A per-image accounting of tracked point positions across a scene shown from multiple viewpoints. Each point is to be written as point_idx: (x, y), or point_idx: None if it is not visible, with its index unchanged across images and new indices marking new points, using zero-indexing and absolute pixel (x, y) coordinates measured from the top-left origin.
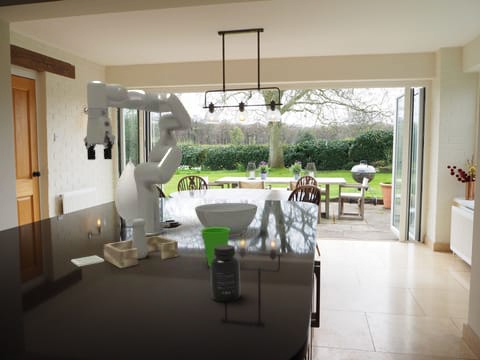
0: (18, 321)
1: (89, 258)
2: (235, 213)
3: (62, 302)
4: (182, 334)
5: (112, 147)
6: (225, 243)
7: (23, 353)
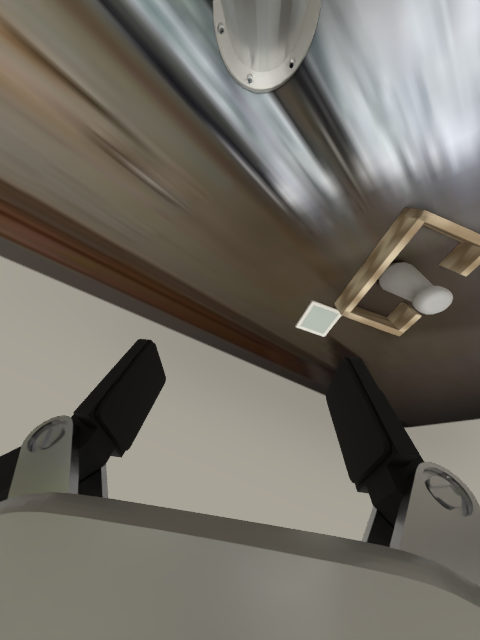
0: None
1: (316, 315)
2: None
3: (384, 392)
4: None
5: (463, 486)
6: None
7: (411, 426)
